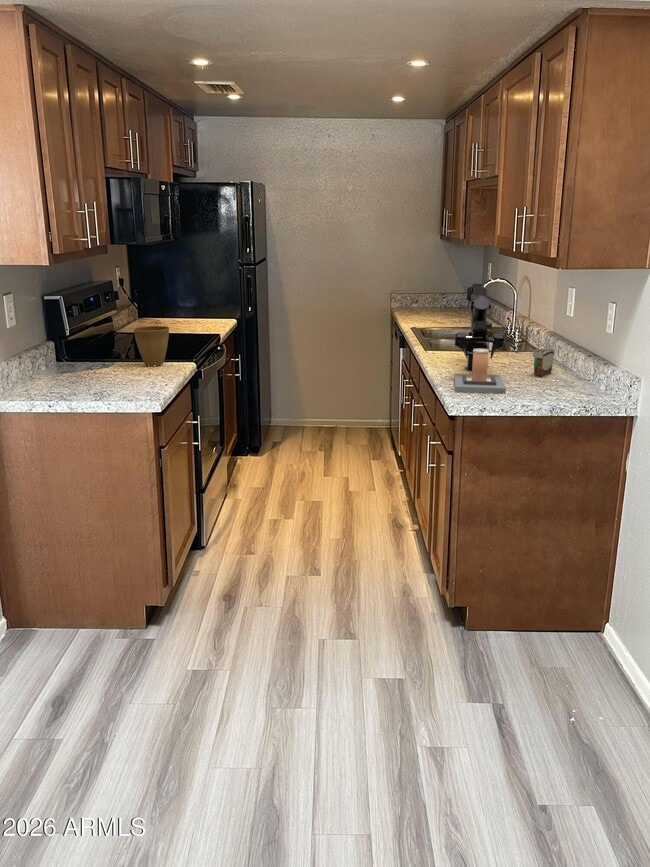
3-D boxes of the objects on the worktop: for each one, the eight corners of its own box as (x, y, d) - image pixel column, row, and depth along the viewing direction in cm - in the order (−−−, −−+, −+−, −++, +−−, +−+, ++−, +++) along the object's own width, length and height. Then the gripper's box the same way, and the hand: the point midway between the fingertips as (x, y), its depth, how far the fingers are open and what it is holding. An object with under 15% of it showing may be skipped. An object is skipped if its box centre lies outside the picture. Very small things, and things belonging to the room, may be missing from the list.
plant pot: (168, 361, 330) (166, 325, 326) (173, 367, 317) (171, 329, 312) (134, 362, 326) (131, 326, 321) (137, 369, 312) (134, 331, 308)
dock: (453, 378, 297) (454, 370, 296) (499, 379, 295) (500, 372, 294) (455, 391, 275) (455, 383, 274) (505, 393, 272) (506, 385, 271)
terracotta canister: (474, 378, 287) (476, 347, 283) (489, 380, 284) (491, 349, 280) (468, 381, 282) (470, 350, 279) (483, 383, 279) (485, 351, 275)
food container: (538, 371, 312) (540, 347, 309) (552, 373, 308) (554, 349, 305) (525, 375, 303) (527, 351, 300) (540, 378, 299) (542, 353, 296)
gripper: (456, 312, 289) (455, 345, 282) (505, 313, 287) (506, 346, 279) (454, 329, 299) (454, 361, 292) (502, 330, 296) (502, 363, 289)
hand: (479, 357), depth 288 cm, fingers open, 9 cm apart
